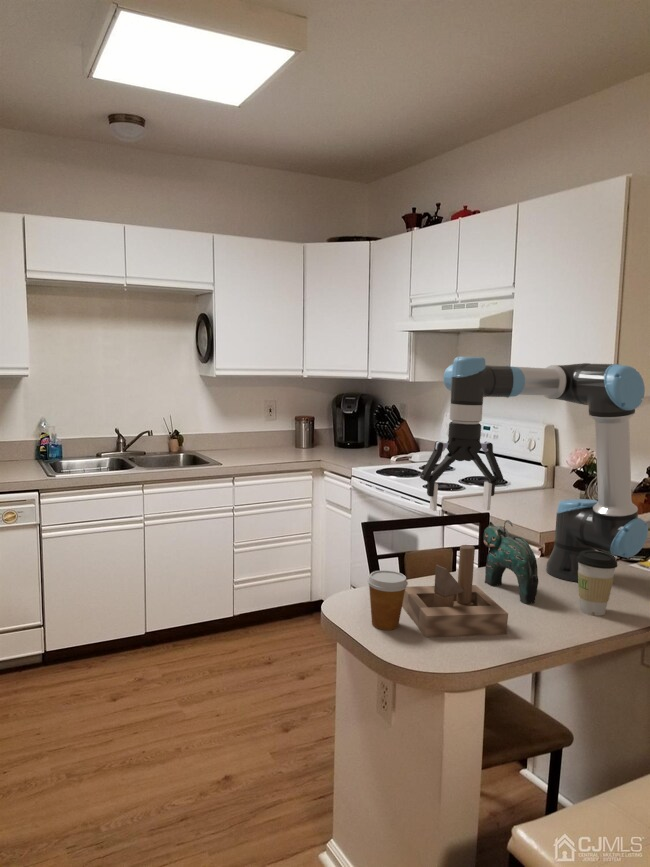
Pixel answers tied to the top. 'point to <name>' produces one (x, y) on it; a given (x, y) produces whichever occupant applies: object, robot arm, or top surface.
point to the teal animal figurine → (510, 561)
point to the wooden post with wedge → (449, 586)
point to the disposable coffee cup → (386, 598)
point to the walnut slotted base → (454, 614)
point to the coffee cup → (595, 580)
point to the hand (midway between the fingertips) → (459, 509)
